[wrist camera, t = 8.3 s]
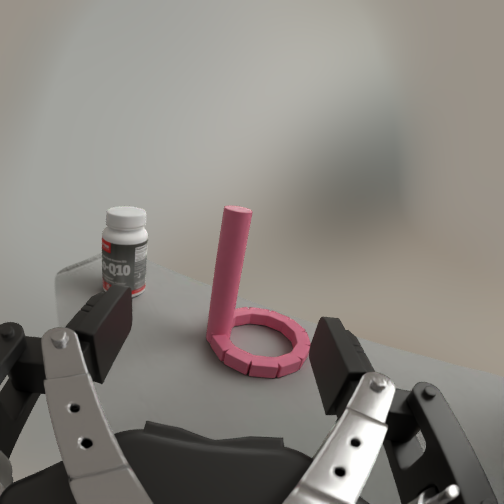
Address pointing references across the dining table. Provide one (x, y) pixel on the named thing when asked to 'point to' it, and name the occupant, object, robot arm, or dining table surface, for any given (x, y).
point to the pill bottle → (125, 249)
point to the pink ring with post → (228, 317)
